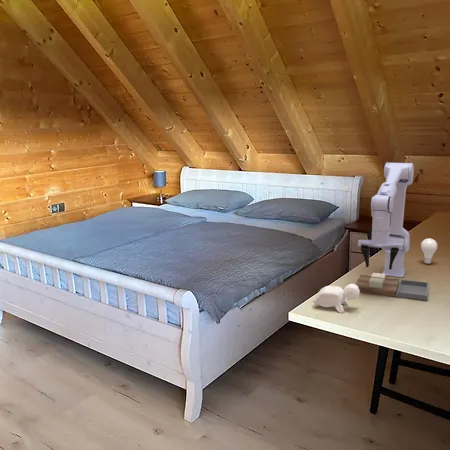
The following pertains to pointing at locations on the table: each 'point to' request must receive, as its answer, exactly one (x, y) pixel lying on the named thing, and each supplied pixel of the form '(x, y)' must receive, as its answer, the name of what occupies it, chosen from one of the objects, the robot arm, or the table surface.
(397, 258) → the robot arm
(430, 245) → the lightbulb
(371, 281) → the tile green
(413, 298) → the box
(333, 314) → the table surface
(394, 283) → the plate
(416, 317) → the table surface
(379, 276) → the tile cream
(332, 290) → the white turtle figurine
